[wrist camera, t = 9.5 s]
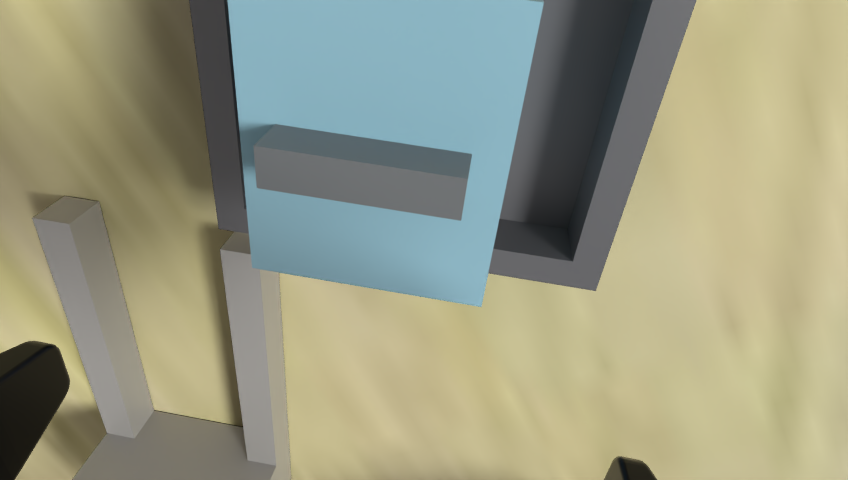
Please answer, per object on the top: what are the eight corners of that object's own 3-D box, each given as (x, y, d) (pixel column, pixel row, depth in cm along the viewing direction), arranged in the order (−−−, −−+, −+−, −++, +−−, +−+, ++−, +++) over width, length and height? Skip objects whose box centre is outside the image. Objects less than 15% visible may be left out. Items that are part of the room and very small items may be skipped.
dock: (276, 230, 22) (185, 359, 16) (291, 487, 32) (239, 627, 26) (64, 195, 23) (-100, 307, 17) (143, 458, 32) (58, 588, 26)
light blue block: (532, -49, 15) (547, 15, 7) (494, 153, 18) (478, 339, 11) (352, -72, 15) (192, -32, 8) (347, 131, 19) (232, 296, 11)
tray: (729, -197, 13) (770, -214, 11) (587, 248, 20) (595, 291, 18) (209, -252, 14) (153, -277, 12) (249, 193, 21) (218, 229, 19)
